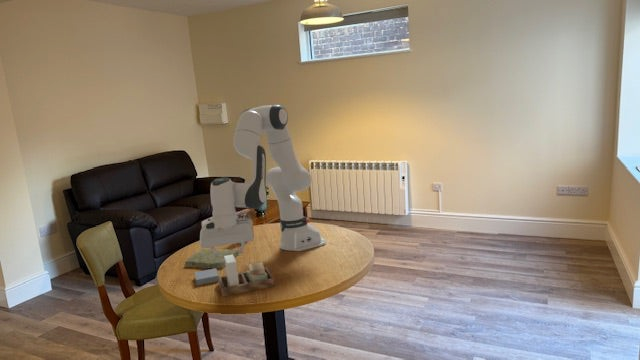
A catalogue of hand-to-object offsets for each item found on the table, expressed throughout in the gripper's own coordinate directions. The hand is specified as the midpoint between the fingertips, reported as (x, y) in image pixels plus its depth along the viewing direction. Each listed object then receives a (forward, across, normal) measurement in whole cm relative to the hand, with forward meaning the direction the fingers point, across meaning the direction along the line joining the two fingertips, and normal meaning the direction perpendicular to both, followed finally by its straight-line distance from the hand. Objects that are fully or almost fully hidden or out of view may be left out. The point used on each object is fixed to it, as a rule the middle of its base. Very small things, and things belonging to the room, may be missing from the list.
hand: (228, 255), depth 176 cm
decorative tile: (+14, +5, -36) cm, 39 cm away
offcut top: (+9, -10, 0) cm, 14 cm away
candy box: (+13, -15, -61) cm, 65 cm away
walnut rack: (+14, -6, 0) cm, 15 cm away
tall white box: (+14, 0, 0) cm, 14 cm away
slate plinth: (+14, +8, -14) cm, 21 cm away
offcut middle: (+12, -10, 0) cm, 15 cm away
